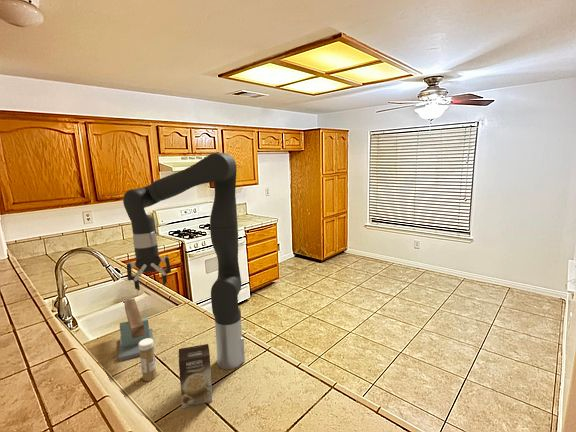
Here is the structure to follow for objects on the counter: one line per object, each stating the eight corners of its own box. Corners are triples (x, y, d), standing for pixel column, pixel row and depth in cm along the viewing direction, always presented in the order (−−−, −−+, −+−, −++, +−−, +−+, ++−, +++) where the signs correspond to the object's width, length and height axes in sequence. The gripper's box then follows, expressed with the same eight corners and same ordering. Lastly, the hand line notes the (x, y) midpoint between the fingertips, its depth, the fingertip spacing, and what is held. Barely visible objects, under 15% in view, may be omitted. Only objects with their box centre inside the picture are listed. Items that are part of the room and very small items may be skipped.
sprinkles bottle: (158, 378, 102) (154, 342, 99) (143, 383, 99) (139, 347, 97) (155, 370, 106) (151, 336, 103) (141, 375, 103) (137, 340, 101)
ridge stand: (152, 331, 130) (149, 309, 128) (154, 352, 116) (151, 327, 114) (121, 338, 125) (118, 315, 123) (118, 361, 110) (115, 335, 108)
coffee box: (181, 409, 89) (177, 361, 86) (181, 394, 95) (177, 348, 92) (213, 401, 92) (209, 354, 89) (211, 386, 98) (208, 342, 95)
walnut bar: (135, 306, 130) (134, 298, 129) (144, 335, 109) (143, 325, 108) (125, 309, 128) (124, 300, 127) (132, 338, 107) (131, 328, 106)
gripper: (122, 250, 100) (129, 295, 103) (167, 243, 106) (173, 286, 109) (123, 245, 106) (130, 287, 109) (166, 239, 112) (171, 279, 115)
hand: (151, 287), depth 109 cm, fingers open, 8 cm apart
